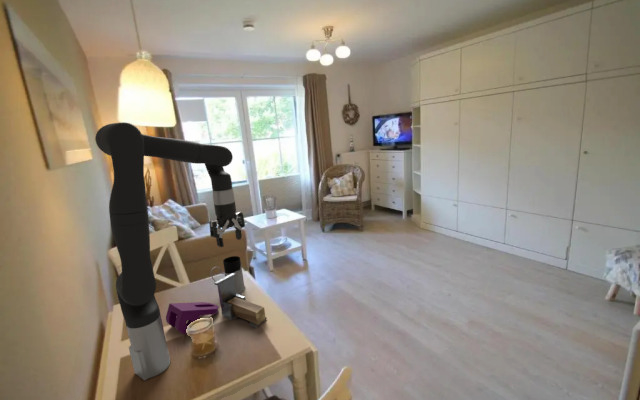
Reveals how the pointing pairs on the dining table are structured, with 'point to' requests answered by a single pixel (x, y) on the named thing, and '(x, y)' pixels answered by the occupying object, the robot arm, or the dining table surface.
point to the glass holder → (234, 267)
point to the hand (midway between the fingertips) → (230, 242)
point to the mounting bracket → (188, 313)
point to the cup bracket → (227, 295)
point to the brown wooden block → (247, 310)
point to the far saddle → (256, 324)
